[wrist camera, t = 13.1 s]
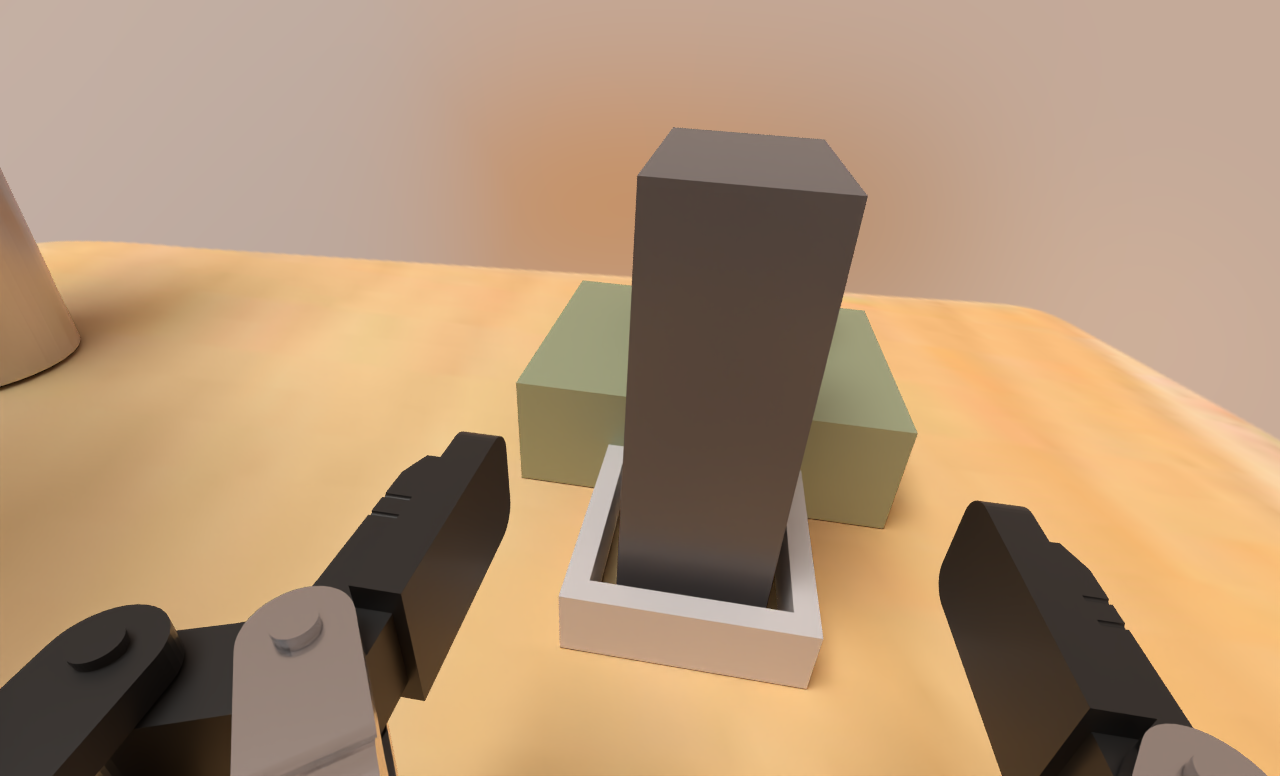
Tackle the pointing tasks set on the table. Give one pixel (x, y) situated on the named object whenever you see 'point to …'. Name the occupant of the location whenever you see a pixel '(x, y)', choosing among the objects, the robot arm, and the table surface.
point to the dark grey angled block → (727, 353)
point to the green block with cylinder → (593, 456)
